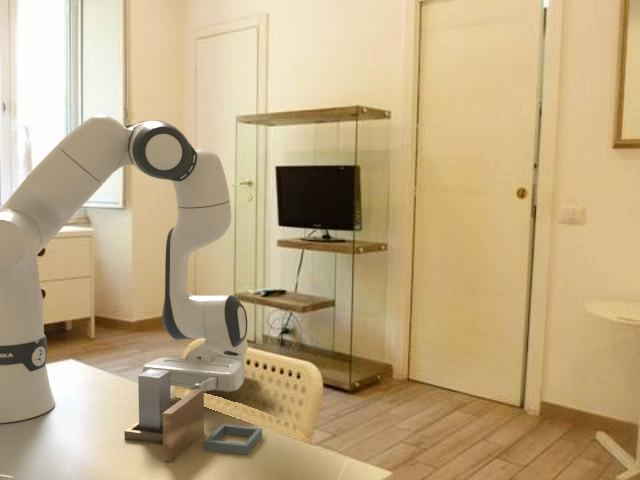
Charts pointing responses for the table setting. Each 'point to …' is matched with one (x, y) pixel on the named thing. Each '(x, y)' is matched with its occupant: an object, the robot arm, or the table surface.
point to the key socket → (142, 435)
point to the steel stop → (153, 399)
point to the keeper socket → (231, 447)
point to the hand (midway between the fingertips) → (175, 386)
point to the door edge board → (183, 424)
